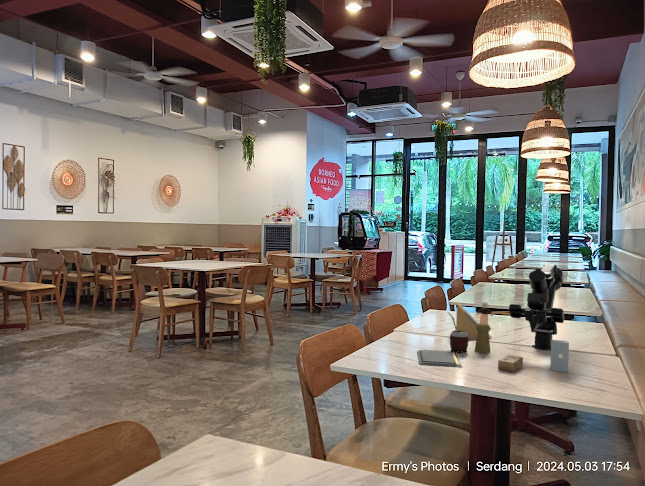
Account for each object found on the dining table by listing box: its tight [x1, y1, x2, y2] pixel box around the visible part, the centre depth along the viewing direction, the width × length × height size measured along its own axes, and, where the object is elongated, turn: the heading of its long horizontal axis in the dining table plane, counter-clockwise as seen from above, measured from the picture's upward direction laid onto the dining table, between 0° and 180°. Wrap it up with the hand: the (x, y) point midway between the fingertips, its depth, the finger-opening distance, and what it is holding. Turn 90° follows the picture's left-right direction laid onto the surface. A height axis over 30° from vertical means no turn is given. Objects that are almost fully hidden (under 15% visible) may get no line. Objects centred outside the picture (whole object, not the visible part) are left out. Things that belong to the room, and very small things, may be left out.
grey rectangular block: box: [550, 339, 570, 373], centre depth 162 cm, size 4×5×10 cm
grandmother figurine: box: [476, 300, 494, 325], centre depth 238 cm, size 8×4×13 cm, turn 80°
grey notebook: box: [416, 349, 463, 369], centre depth 174 cm, size 20×2×15 cm
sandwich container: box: [455, 301, 492, 340], centre depth 215 cm, size 9×15×15 cm, turn 74°
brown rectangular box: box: [497, 354, 524, 373], centre depth 164 cm, size 4×5×10 cm
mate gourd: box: [446, 311, 470, 355], centre depth 185 cm, size 8×8×15 cm
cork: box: [474, 322, 491, 354], centre depth 187 cm, size 6×6×11 cm
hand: (532, 331), depth 174 cm, fingers closed
